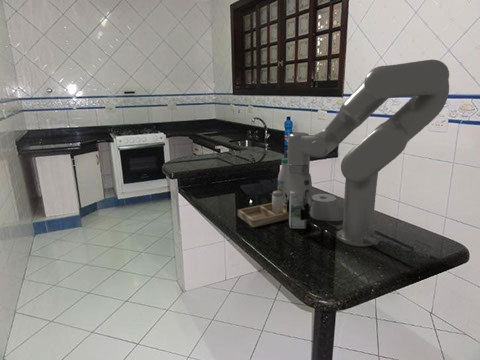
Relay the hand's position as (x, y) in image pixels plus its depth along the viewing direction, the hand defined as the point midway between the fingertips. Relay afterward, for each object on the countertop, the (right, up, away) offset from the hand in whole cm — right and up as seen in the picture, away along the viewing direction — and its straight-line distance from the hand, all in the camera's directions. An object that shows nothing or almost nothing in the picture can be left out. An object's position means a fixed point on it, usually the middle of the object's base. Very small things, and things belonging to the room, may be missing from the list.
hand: (297, 215), depth 118 cm
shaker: (-6, -1, +12) cm, 14 cm away
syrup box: (0, -5, +1) cm, 5 cm away
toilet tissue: (+13, -3, +8) cm, 15 cm away
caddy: (-10, -2, +11) cm, 15 cm away
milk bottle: (0, +3, +28) cm, 28 cm away
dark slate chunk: (-9, +7, +48) cm, 49 cm away
